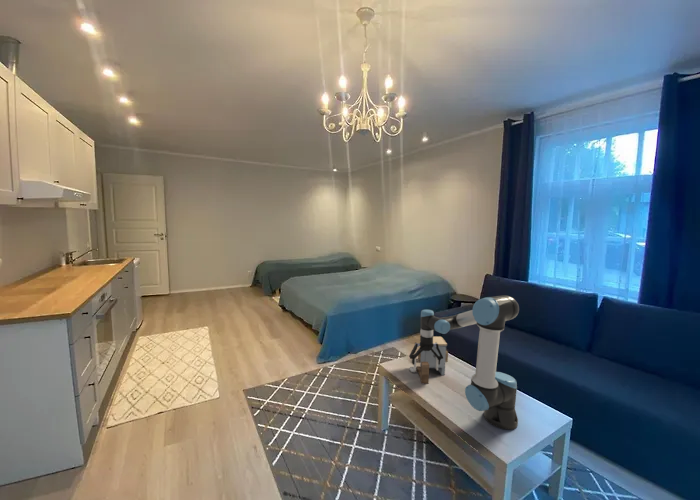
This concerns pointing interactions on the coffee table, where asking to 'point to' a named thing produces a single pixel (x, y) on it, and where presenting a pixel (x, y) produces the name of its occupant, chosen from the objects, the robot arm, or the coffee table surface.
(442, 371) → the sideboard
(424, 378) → the wooden block
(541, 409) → the coffee table surface
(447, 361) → the stand
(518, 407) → the coffee table surface
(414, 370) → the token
